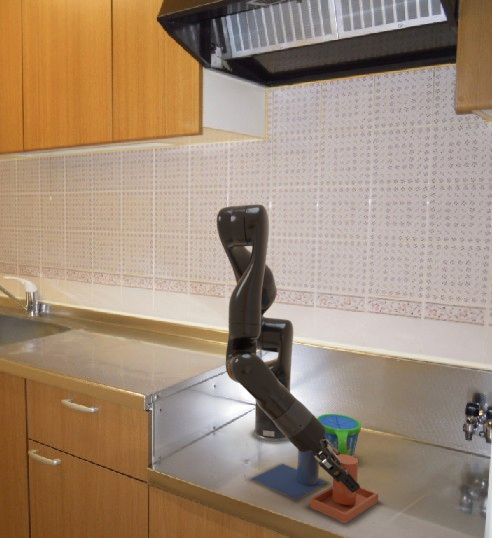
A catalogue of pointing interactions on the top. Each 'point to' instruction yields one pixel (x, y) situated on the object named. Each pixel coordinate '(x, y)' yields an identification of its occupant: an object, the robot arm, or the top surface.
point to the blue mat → (285, 481)
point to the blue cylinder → (307, 468)
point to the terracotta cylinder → (339, 489)
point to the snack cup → (341, 432)
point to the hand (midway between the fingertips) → (354, 483)
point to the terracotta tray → (340, 511)
